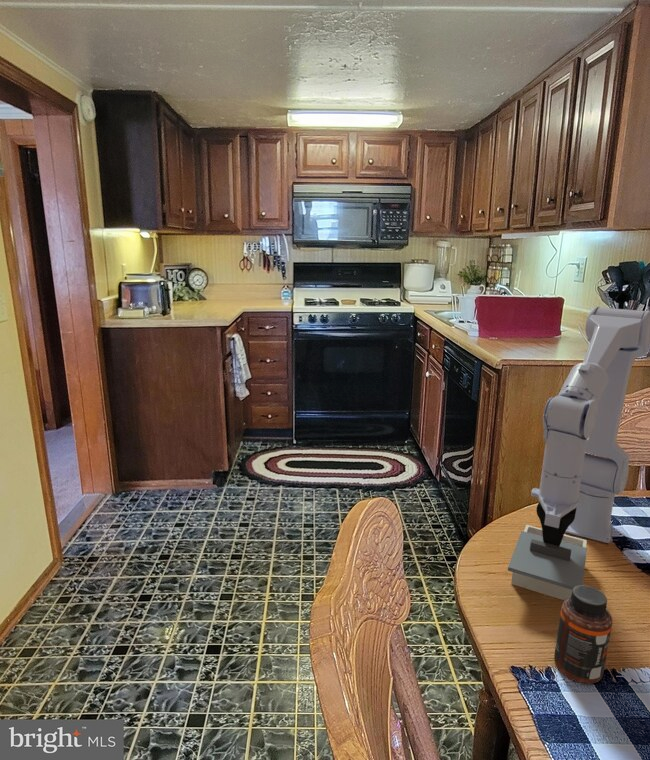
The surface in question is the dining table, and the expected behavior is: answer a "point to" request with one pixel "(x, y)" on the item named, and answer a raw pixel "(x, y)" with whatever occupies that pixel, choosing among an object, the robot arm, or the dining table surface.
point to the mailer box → (541, 585)
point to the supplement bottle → (583, 635)
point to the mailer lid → (549, 561)
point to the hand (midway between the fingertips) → (551, 546)
